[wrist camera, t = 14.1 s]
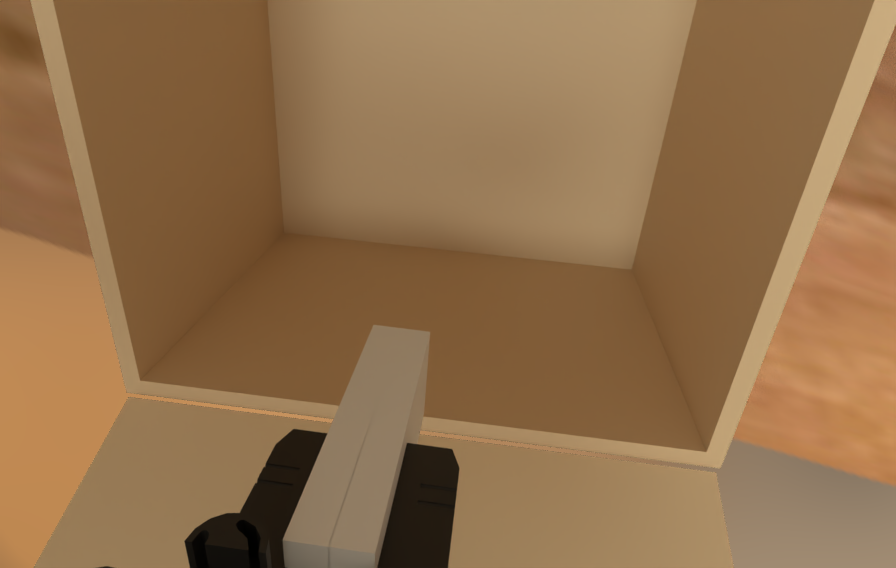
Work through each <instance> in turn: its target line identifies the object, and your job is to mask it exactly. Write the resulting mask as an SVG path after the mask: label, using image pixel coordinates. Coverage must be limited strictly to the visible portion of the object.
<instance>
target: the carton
mask: <svg viewBox="0 0 896 568" xmlns="http://www.w3.org/2000/svg"><path fill="white" fill-rule="evenodd" d="M30 1H31V5H32V9H33V13H34V17H35V21H36V26H37V30H38V34H39V38H40V42H41V46H42V50H43V54H44V58H45V62H46V66H47V70H48V74H49V78H50V83H51V87H52V91H53V95H54V99H55V103H56V107H57V111H58V115H59V119H60V123H61V127H62V131H63V135H64V140H65V144H66V148H67V152H68V156H69V160H70V164H71V168H72V172H73V176H74V180H75V184H76V188H77V193H78V197H79V201H80V205H81V209H82V213H83V217H84V221H85V225H86V229H87V233H88V237H89V241H90V245H91V250H92V254H93V258H94V262H95V266H96V270H97V274H98V278H99V282H100V286H101V290H102V294H103V298H104V302H105V306H106V310H107V315H108V319H109V323H110V327H111V331H112V335H113V339H114V343H115V347H116V351H117V355H118V359H119V363H120V367H121V372H122V376H123V380H124V384H125V388H126V392H127V393H134V394H142V395H150V396H157V397H165V398H174V399H181V400H189V401H196V402H204V403H212V404H220V405H228V406H236V407H243V408H252V409H259V410H267V411H275V412H282V413H290V414H298V415H306V416H314V417H323V418H330V419H334V417H335V415H336V412H337V410H338V408H339V405H340V403H341V401H342V398H343V396H344V393H345V391H346V389H347V386H348V384H349V382H350V379H351V377H352V375H353V372H354V370H355V367H356V365H357V363H358V360H359V358H360V356H361V353H362V351H363V348H364V346H365V344H366V341H367V339H368V337H369V334H370V332H371V330H372V327H373V325H380V326H388V327H396V328H404V329H412V330H420V331H428V332H430V342H429V355H428V368H427V381H426V394H425V407H424V416H423V420H422V425H421V430H424V431H432V432H439V433H447V434H454V435H462V436H470V437H478V438H486V439H494V440H501V441H509V442H517V443H525V444H533V445H541V446H549V447H556V448H565V449H572V450H580V451H587V452H595V453H604V454H611V455H619V456H627V457H635V458H642V459H650V460H658V461H666V462H673V463H681V464H689V465H697V466H705V467H712V468H721V466H722V464H723V461H724V458H725V456H726V453H727V451H728V448H729V446H730V443H731V441H732V438H733V436H734V433H735V431H736V428H737V425H738V423H739V420H740V418H741V415H742V413H743V410H744V408H745V405H746V403H747V400H748V398H749V395H750V392H751V390H752V387H753V385H754V382H755V380H756V377H757V375H758V372H759V370H760V367H761V365H762V362H763V359H764V357H765V354H766V352H767V349H768V347H769V344H770V342H771V339H772V337H773V334H774V332H775V329H776V326H777V324H778V321H779V319H780V316H781V314H782V311H783V309H784V306H785V304H786V301H787V299H788V296H789V293H790V291H791V288H792V286H793V283H794V281H795V278H796V276H797V273H798V271H799V268H800V266H801V263H802V260H803V258H804V255H805V253H806V250H807V248H808V245H809V243H810V240H811V238H812V235H813V233H814V230H815V227H816V225H817V222H818V220H819V217H820V215H821V212H822V210H823V207H824V205H825V202H826V200H827V197H828V194H829V192H830V189H831V187H832V184H833V182H834V179H835V177H836V174H837V172H838V169H839V167H840V164H841V161H842V159H843V156H844V154H845V151H846V149H847V146H848V144H849V141H850V139H851V136H852V133H853V131H854V128H855V126H856V123H857V121H858V118H859V116H860V113H861V111H862V108H863V106H864V103H865V100H866V98H867V95H868V93H869V90H870V88H871V85H872V83H873V80H874V78H875V75H876V73H877V70H878V67H879V65H880V62H881V60H882V57H883V55H884V52H885V50H886V47H887V45H888V42H889V40H890V37H891V34H892V32H893V29H894V27H895V24H896V0H30Z"/></svg>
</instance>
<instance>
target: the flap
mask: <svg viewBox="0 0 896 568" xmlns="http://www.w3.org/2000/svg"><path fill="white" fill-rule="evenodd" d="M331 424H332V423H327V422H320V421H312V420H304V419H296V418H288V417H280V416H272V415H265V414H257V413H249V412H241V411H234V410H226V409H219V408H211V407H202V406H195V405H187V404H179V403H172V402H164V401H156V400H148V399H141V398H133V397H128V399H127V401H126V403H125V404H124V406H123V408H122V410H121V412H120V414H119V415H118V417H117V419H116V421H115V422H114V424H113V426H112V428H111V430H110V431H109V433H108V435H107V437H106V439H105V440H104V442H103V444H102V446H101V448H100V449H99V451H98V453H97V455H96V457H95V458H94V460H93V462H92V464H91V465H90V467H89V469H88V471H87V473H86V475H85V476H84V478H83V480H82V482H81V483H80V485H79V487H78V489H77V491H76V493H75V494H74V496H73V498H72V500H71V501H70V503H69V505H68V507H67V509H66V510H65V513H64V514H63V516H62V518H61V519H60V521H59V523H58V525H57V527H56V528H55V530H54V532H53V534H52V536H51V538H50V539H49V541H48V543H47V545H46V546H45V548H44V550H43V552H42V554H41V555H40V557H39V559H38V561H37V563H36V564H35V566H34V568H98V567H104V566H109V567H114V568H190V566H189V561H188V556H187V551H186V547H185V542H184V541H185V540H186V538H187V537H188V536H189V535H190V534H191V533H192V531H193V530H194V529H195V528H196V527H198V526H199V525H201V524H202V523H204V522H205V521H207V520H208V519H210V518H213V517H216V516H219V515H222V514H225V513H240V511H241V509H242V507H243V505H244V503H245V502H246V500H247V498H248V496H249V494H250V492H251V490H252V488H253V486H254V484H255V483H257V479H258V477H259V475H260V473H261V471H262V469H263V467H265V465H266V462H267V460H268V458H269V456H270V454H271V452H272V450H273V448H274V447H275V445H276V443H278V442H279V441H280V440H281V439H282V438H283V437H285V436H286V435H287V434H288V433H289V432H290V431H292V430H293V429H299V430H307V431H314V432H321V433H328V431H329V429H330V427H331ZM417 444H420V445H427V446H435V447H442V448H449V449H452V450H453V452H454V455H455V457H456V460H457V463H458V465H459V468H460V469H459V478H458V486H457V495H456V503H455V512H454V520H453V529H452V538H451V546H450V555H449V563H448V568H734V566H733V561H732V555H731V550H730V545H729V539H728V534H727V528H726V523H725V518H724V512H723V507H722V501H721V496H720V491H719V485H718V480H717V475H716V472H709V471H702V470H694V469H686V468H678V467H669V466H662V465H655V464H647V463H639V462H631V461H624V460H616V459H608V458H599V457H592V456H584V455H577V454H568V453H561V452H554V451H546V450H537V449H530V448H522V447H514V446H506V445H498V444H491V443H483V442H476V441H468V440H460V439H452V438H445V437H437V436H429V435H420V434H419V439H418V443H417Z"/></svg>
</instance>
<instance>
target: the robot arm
mask: <svg viewBox="0 0 896 568" xmlns="http://www.w3.org/2000/svg"><path fill="white" fill-rule="evenodd" d="M429 342H430V332H428V331H420V330H412V329H404V328H396V327H388V326H380V325H373V327H372V330H371V332H370V334H369V337H368V339H367V341H366V344H365V346H364V348H363V351H362V353H361V356H360V358H359V360H358V363H357V365H356V367H355V370H354V372H353V375H352V377H351V379H350V382H349V384H348V386H347V389H346V391H345V393H344V396H343V398H342V401H341V403H340V405H339V408H338V410H337V412H336V415H335V417H334V419H333V422H332V424H331V427H330V429H329V431H328V433H321V432H314V431H307V430H299V429H293V430H292V431H290V432H289V433H288V434H287V435H286V436H285V437H283V438H282V439H281V440H280V441H279V442H278V443H276V445H275V447H274V448H273V450H272V452H271V454H270V456H269V458H268V460H267V462H266V465H265V467H263V469H262V471H261V473H260V475H259V477H258V479H257V483H255V484H254V486H253V488H252V490H251V492H250V494H249V496H248V498H247V500H246V502H245V503H244V505H243V507H242V509H241V511H240V513H225V514H222V515H219V516H216V517H213V518H210V519H208V520H207V521H205V522H204V523H202V524H201V525H199V526H198V527H196V528H195V529H194V530H193V531H192V533H191V534H190V535H189V536H188V537H187V538H186V540H185V541H184V542H185V547H186V551H187V556H188V561H189V566H190V568H448V563H449V555H450V546H451V538H452V529H453V520H454V512H455V503H456V495H457V486H458V478H459V469H460V468H459V465H458V463H457V460H456V457H455V455H454V452H453V450H452V449H449V448H442V447H435V446H427V445H420V444H417V443H418V439H419V434H420V430H421V425H422V420H423V416H424V407H425V394H426V381H427V368H428V355H429ZM98 568H114V567H109V566H104V567H98Z"/></svg>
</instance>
